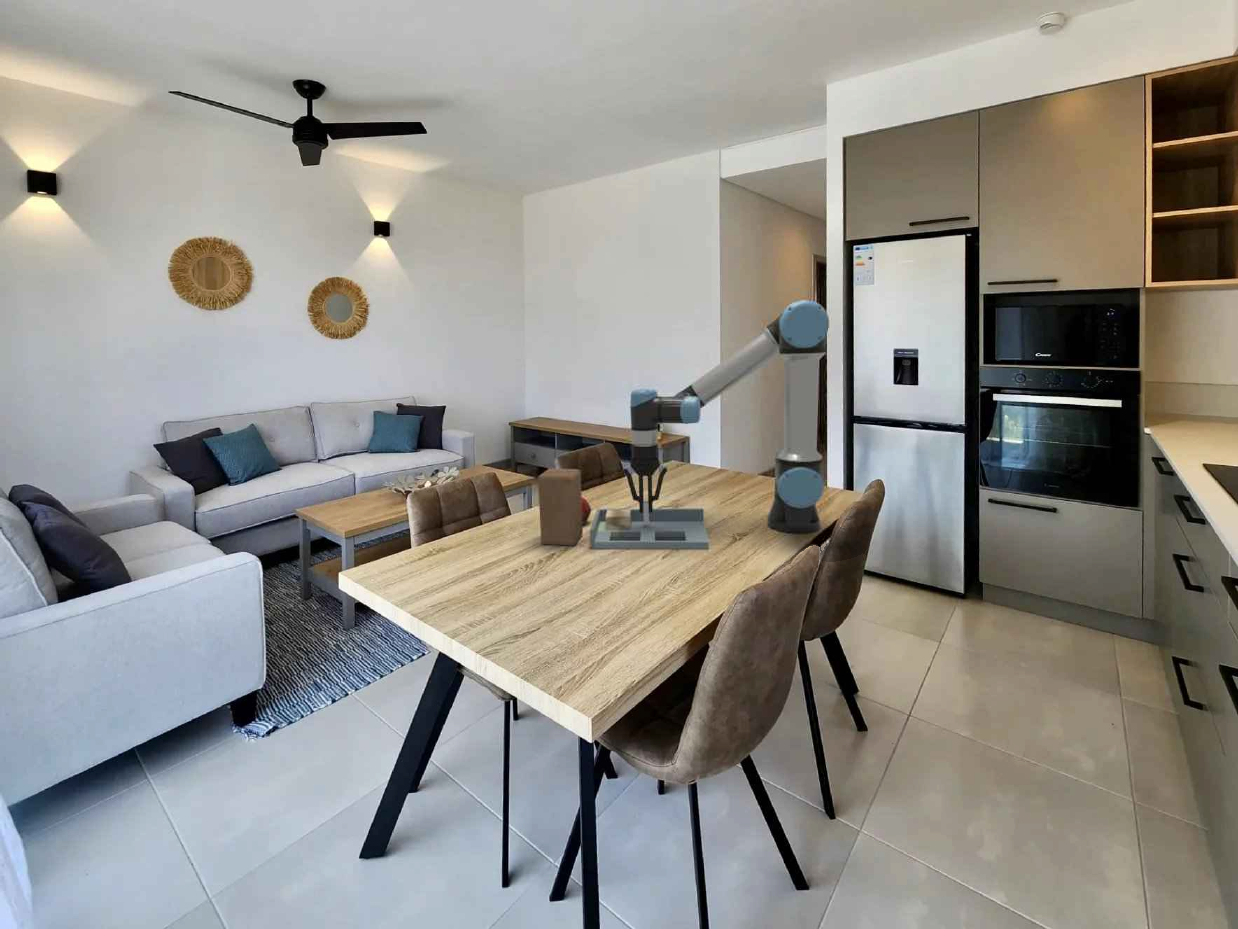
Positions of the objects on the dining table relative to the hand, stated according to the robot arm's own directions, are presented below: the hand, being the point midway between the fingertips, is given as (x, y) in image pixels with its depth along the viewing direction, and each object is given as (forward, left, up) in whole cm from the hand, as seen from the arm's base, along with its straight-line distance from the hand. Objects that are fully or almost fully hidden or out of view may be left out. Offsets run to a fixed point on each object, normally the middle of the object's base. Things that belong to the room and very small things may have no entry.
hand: (646, 523), depth 176 cm
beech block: (+8, 0, -1) cm, 8 cm away
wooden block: (+24, +6, -3) cm, 25 cm away
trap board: (-1, +4, -3) cm, 5 cm away
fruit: (+22, -10, -3) cm, 24 cm away
